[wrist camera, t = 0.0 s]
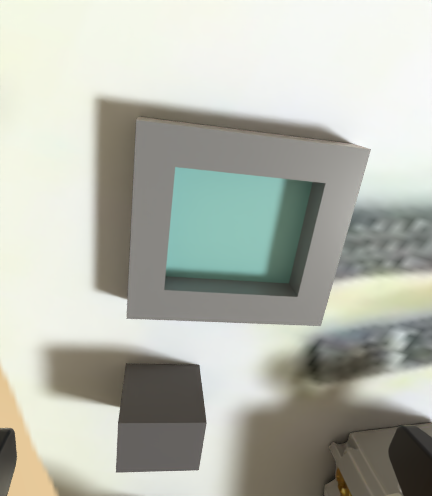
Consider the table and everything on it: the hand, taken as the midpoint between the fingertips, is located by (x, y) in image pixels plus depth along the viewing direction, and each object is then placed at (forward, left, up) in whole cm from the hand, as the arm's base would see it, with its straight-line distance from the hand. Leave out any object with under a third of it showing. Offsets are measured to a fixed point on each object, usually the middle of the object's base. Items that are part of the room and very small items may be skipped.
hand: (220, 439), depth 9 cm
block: (-12, 0, -15) cm, 19 cm away
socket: (0, -3, -15) cm, 15 cm away
